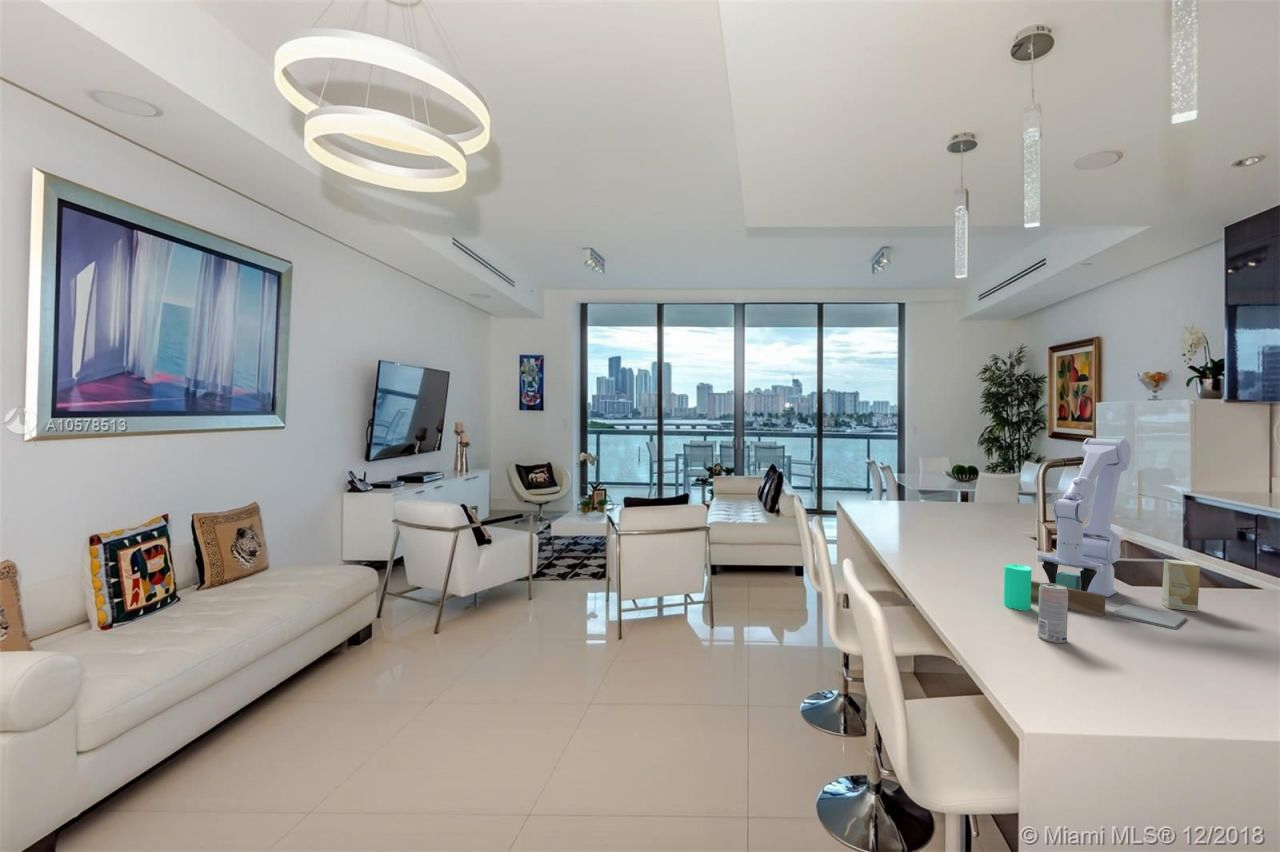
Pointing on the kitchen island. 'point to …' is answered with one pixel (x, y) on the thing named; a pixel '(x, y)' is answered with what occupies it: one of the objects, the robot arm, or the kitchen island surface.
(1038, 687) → the kitchen island surface
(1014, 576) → the candle
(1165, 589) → the skincare box
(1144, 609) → the grey mat
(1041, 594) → the energy drink
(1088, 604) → the walnut screen
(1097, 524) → the robot arm
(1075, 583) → the teal block
